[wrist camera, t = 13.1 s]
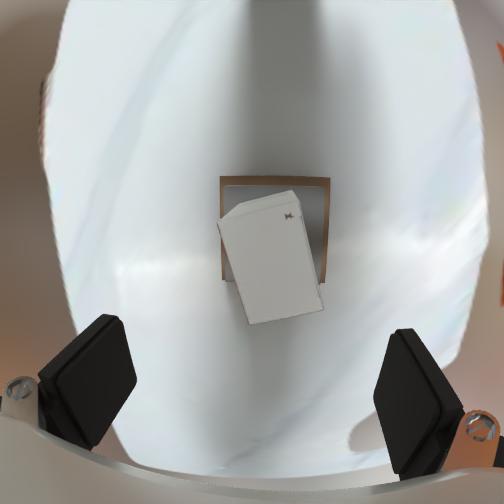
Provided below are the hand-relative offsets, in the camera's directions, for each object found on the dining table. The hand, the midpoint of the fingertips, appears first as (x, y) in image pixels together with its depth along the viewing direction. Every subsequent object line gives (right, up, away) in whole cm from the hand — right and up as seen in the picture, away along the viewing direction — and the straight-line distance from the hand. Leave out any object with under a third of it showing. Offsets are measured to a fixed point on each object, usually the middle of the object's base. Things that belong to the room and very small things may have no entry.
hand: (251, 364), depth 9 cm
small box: (+2, +6, +20) cm, 21 cm away
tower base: (+3, +7, +26) cm, 27 cm away
